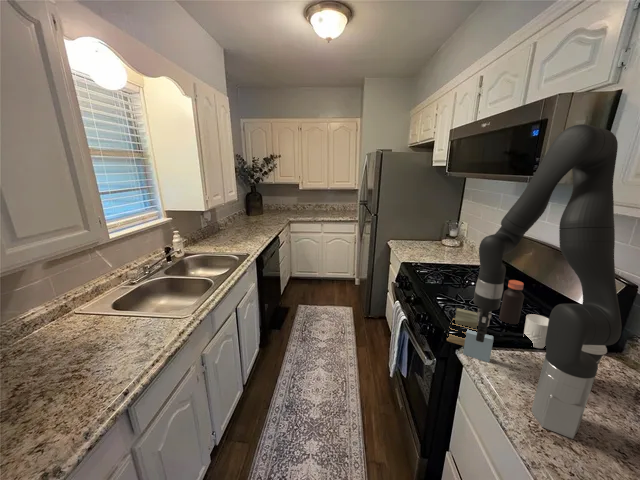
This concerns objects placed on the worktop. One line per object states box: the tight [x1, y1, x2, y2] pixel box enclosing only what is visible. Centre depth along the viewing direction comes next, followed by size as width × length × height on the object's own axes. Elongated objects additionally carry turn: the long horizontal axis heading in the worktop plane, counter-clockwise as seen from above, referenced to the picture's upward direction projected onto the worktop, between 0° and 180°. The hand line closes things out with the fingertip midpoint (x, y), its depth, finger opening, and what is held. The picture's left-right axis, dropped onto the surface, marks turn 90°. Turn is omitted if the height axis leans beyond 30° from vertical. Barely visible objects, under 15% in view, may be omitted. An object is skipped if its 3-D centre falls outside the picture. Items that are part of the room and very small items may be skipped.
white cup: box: [523, 313, 549, 349], centre depth 98 cm, size 8×8×10 cm
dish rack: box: [446, 307, 478, 347], centre depth 103 cm, size 14×11×9 cm
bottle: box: [498, 279, 525, 325], centre depth 108 cm, size 7×7×20 cm
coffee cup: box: [582, 345, 608, 365], centre depth 80 cm, size 10×10×15 cm
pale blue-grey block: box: [462, 329, 494, 363], centre depth 92 cm, size 2×8×9 cm, turn 58°
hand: (480, 334), depth 91 cm, fingers open, 8 cm apart
